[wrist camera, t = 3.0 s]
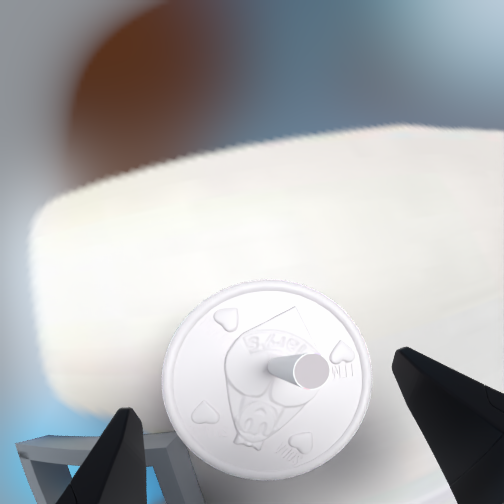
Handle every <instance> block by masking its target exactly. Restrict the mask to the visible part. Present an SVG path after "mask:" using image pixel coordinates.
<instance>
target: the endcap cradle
mask: <svg viewBox="0 0 504 504" xmlns="http://www.w3.org/2000/svg"><path fill="white" fill-rule="evenodd" d="M98 439H99V437H81V436H80V437H79V436H54V435H47V436H44V437H39V438H35V439H32V440H27V441H23V442H19V443H15V444H16V448H17V451H18V454H19V457H20V460H21V463H22V466H23V469H24V472H25V475H26V477H27V480H28V483H29V485H30V488H31V490H32V492H33V495H34V497H35V500H36V502H37V504H55V503H56V501H57V500H58V499H59V497H60V496H61V494H62V493H63V492H64V490H65V489H66V487H67V486H68V484H69V483H70V481H71V480H72V477H71V474H70V472H69V469H68V466H67V465H77V466H81V464H82V463H83V461H84V460H85V458H86V457H87V455H88V454H89V452H90V451H91V449H92V448H93V446H94V445H95V443H96V442H97V440H98ZM143 439H144V449H145V458H146V467H149V466H153V468H154V471H155V474H156V477H157V479H158V482H159V485H160V488H161V490H162V493H163V496H164V498H165V501H166V503H167V504H206V503H205V501H204V498H203V495H202V492H201V490H200V487H199V484H198V481H197V478H196V475H195V472H194V469H193V466H192V463H191V460H190V457H189V454H188V451H187V447H186V445H185V444H184V443H183V441H182V440H181V439H180V437H179V436H178V434H177V433H176V431H174V432H165V433H155V434H144V435H143Z"/></svg>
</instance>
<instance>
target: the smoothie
mask: <svg viewBox="0 0 504 504" xmlns="http://www.w3.org/2000/svg"><path fill="white" fill-rule="evenodd" d="M371 391H372V366H371V359H370V355H369V351H368V348H367V345H366V342H365V340H364V338H363V336H362V334H361V332H360V330H359V328H358V327H357V325H356V324H355V322H354V321H353V320H352V318H351V317H350V316H349V315H348V314H347V313H346V311H345V310H344V309H343V308H342V307H340V306H339V305H338V304H337V303H336V302H335V301H333V300H332V299H331V298H329V297H328V296H326V295H324V294H323V293H321V292H319V291H317V290H315V289H313V288H311V287H308V286H305V285H303V284H299V283H295V282H291V281H285V280H276V279H261V280H252V281H247V282H242V283H239V284H235V285H232V286H230V287H227V288H225V289H222V290H220V291H218V292H216V293H215V294H213V295H211V296H210V297H208V298H207V299H205V300H204V301H202V302H201V303H200V304H199V305H197V306H196V307H195V308H194V309H193V310H192V311H191V312H190V313H189V314H188V315H187V316H186V318H185V319H184V320H183V321H182V322H181V324H180V325H179V327H178V328H177V330H176V332H175V333H174V335H173V337H172V339H171V341H170V343H169V346H168V348H167V351H166V355H165V358H164V363H163V368H162V394H163V400H164V405H165V409H166V412H167V414H168V417H169V420H170V422H171V424H172V426H173V428H174V429H175V431H176V433H177V434H178V436H179V437H180V439H181V440H182V441H183V443H184V444H185V445H186V446H187V447H188V448H189V449H190V450H191V451H192V452H193V453H194V454H195V455H196V456H197V457H199V458H200V459H201V460H203V461H204V462H205V463H207V464H208V465H210V466H212V467H214V468H215V469H217V470H220V471H222V472H224V473H227V474H230V475H233V476H236V477H240V478H244V479H251V480H264V481H268V480H280V479H286V478H291V477H295V476H298V475H301V474H304V473H307V472H309V471H311V470H313V469H315V468H317V467H319V466H321V465H322V464H324V463H326V462H327V461H329V460H330V459H331V458H333V457H334V456H335V455H336V454H337V453H339V452H340V451H341V450H342V449H343V448H344V447H345V446H346V445H347V443H348V442H349V441H350V440H351V439H352V437H353V436H354V435H355V433H356V431H357V430H358V428H359V427H360V425H361V423H362V421H363V419H364V416H365V414H366V411H367V408H368V405H369V401H370V397H371Z"/></svg>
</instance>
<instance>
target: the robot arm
mask: <svg viewBox="0 0 504 504" xmlns="http://www.w3.org/2000/svg"><path fill="white" fill-rule="evenodd" d="M392 371H393V374H394V376H395V378H396V380H397V383H398V385H399V387H400V390H401V392H402V395H403V397H404V399H405V402H406V404H407V406H408V408H409V410H410V411H411V413H412V415H413V417H414V419H415V420H416V422H417V424H418V426H419V428H420V430H421V431H422V433H423V435H424V437H425V439H426V441H427V443H428V444H429V446H430V448H431V450H432V452H433V454H434V456H435V458H436V460H437V462H438V464H439V466H440V468H441V470H442V472H443V474H444V476H445V478H446V480H447V482H448V484H449V486H450V488H451V490H452V492H453V495H454V497H455V499H456V501H457V503H458V504H504V393H501V392H499V391H497V390H495V389H492V388H490V387H488V386H486V385H485V386H484V384H482V383H480V382H478V381H476V380H474V379H472V378H470V377H468V376H466V375H464V374H462V373H459V372H457V371H455V370H453V369H451V368H449V367H447V366H445V365H443V364H441V363H439V362H437V361H435V360H433V359H431V358H429V357H427V356H425V355H423V354H421V353H419V352H417V351H415V350H413V349H411V348H409V347H403V348H400V349H398V350H397V351H396V352H395V355H394V359H393V363H392ZM55 504H147V495H146V458H145V449H144V439H143V427H142V423H141V420H140V419H139V418H138V416H137V415H136V413H135V412H134V410H133V409H132V408H130V407H128V408H120V409H119V410H118V411H117V412H116V414H115V415H114V417H113V418H112V420H111V421H110V423H109V424H108V426H107V427H106V429H105V430H104V432H103V433H102V435H101V436H100V437H99V439H98V440H97V442H96V443H95V445H94V446H93V448H92V449H91V451H90V452H89V454H88V455H87V457H86V458H85V460H84V461H83V463H82V464H81V466H80V468H79V469H78V471H77V472H76V473H75V475H74V477H73V478H72V480H71V481H70V483H69V484H68V486H67V487H66V489H65V490H64V492H63V493H62V494H61V496H60V497H59V499H58V500H57V501H56V503H55Z"/></svg>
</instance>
